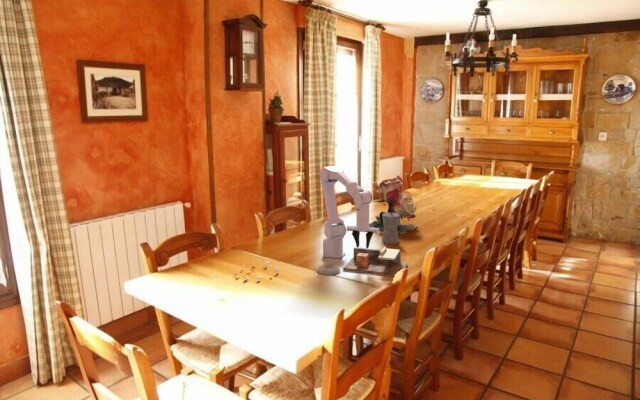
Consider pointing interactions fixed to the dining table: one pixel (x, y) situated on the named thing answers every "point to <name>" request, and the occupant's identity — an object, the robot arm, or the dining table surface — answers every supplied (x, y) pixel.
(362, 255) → the block
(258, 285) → the dining table surface
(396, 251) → the sliding lid
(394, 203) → the rose bouquet
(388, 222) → the coffeepot
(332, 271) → the saucer
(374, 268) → the puzzle board
